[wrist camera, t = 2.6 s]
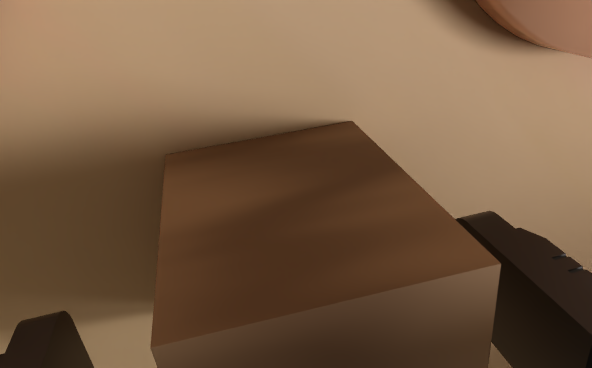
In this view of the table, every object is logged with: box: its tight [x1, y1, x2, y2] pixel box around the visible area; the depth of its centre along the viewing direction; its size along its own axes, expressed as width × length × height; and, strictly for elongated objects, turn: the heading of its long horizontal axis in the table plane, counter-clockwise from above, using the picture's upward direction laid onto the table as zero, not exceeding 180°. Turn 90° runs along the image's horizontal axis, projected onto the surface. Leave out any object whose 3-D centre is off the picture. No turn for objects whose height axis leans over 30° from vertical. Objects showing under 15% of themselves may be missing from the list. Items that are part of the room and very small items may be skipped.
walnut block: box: [151, 121, 501, 368], centre depth 9 cm, size 4×4×6 cm
